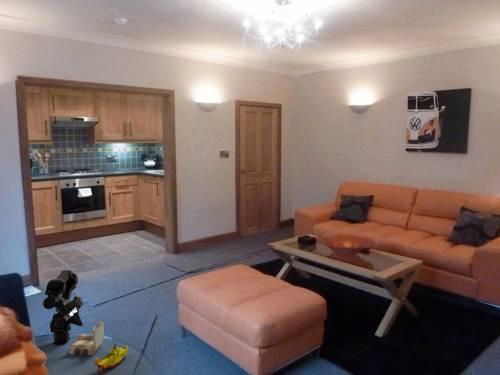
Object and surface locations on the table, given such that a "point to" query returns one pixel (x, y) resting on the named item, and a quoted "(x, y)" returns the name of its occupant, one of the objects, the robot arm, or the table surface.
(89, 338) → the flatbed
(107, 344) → the table surface
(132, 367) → the table surface
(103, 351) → the table surface
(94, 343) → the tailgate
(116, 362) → the toy boat
